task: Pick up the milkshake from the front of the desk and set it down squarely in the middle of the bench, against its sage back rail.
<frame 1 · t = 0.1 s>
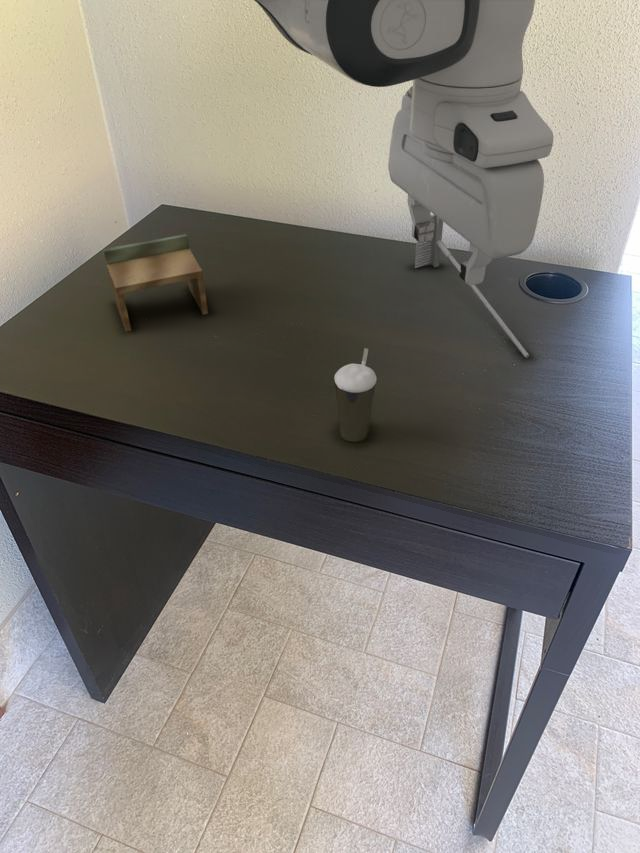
hand: (445, 259, 67), 21 cm above the table, tool pointing down, fingers open, 8 cm apart
milkshake: (355, 432, 80), on the table
bench: (161, 309, 101), on the table
brush: (468, 306, 101), on the table
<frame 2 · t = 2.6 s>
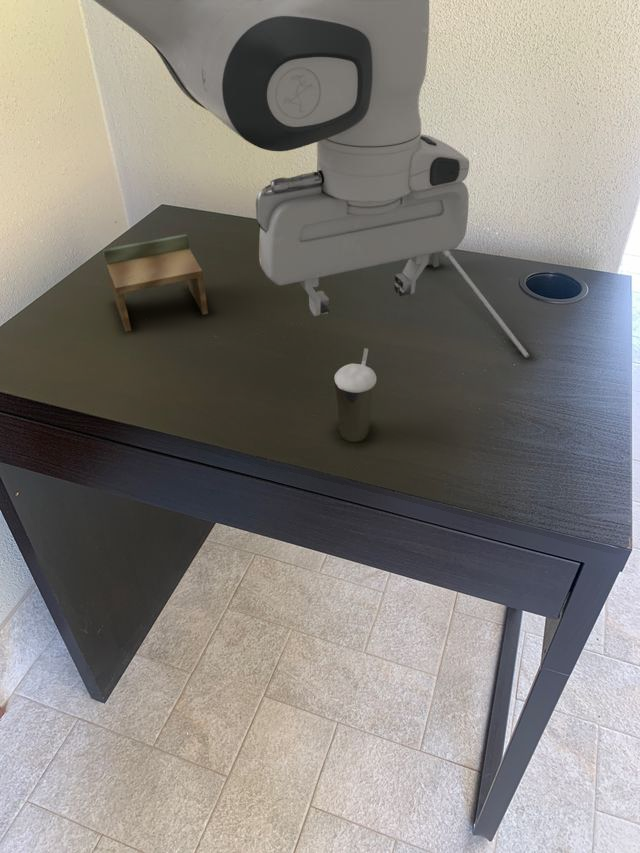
hand: (362, 302, 69), 17 cm above the table, tool pointing down, fingers open, 8 cm apart
nothing on the table moved.
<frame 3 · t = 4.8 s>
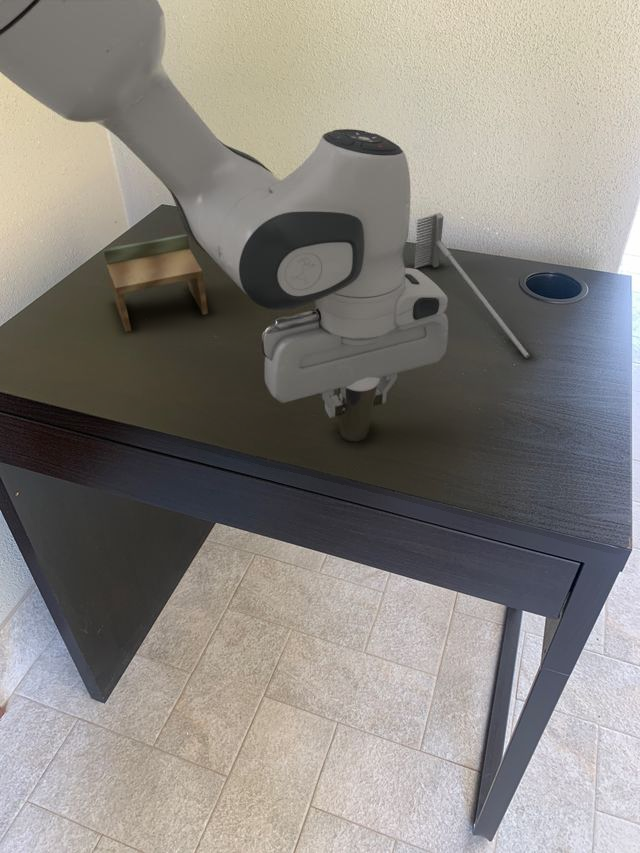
hand: (355, 407, 77), 4 cm above the table, tool pointing down, fingers closed on milkshake, 4 cm apart
milkshake: (355, 432, 80), on the table, touching gripper
everything else where it was.
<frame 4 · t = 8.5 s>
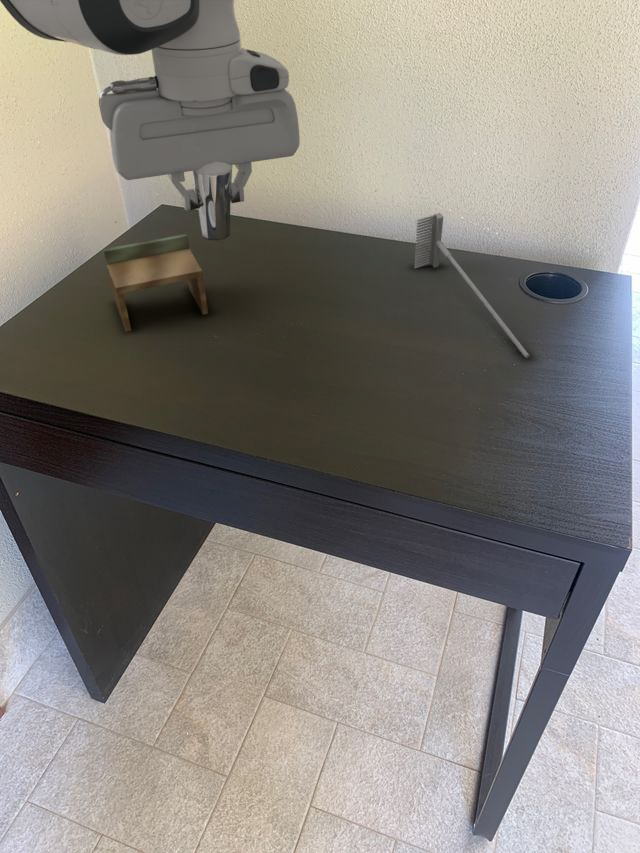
hand: (214, 204, 78), 21 cm above the table, tool pointing down, fingers closed on milkshake, 4 cm apart
milkshake: (217, 235, 81), point 17 cm above the table, touching gripper
everything else where it was.
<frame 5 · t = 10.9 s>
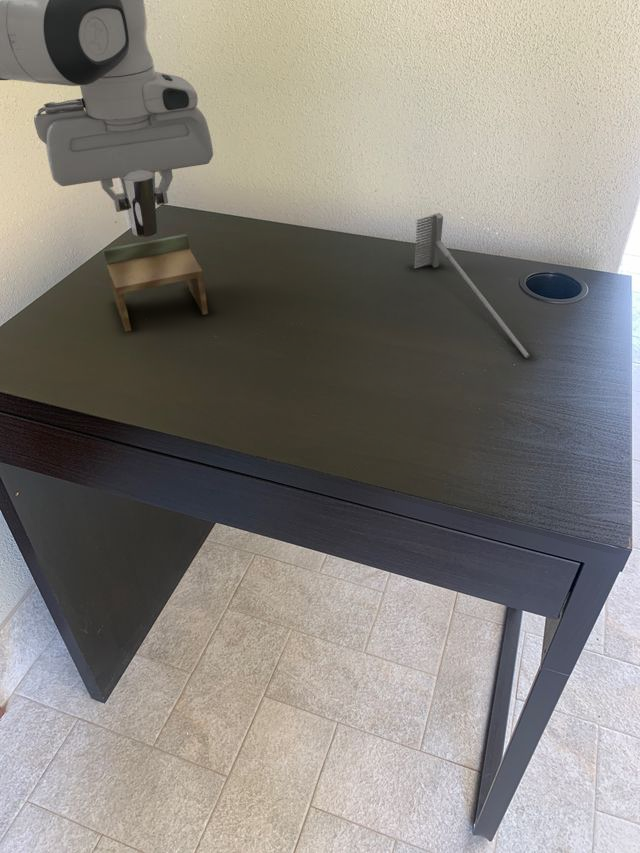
hand: (141, 206, 90), 16 cm above the table, tool pointing down, fingers closed on milkshake, 4 cm apart
milkshake: (147, 232, 93), point 12 cm above the table, touching gripper
everything else where it was.
when the fingers open (11 cm above the table, at t = 12.5 s): milkshake stays where it is, resting on bench.
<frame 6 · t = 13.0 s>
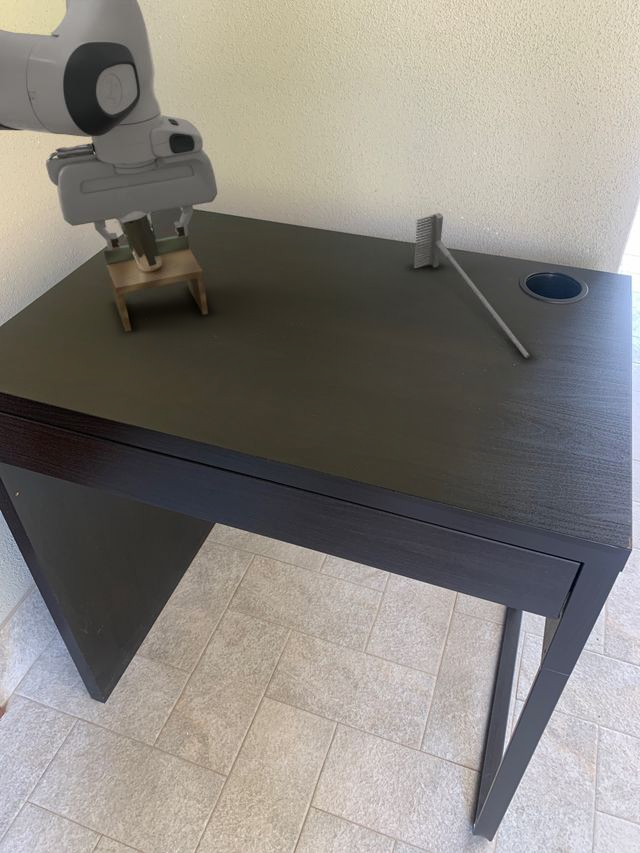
hand: (148, 242, 94), 11 cm above the table, tool pointing down, fingers open, 8 cm apart
milkshake: (153, 265, 96), point 7 cm above the table, touching bench
everything else where it was.
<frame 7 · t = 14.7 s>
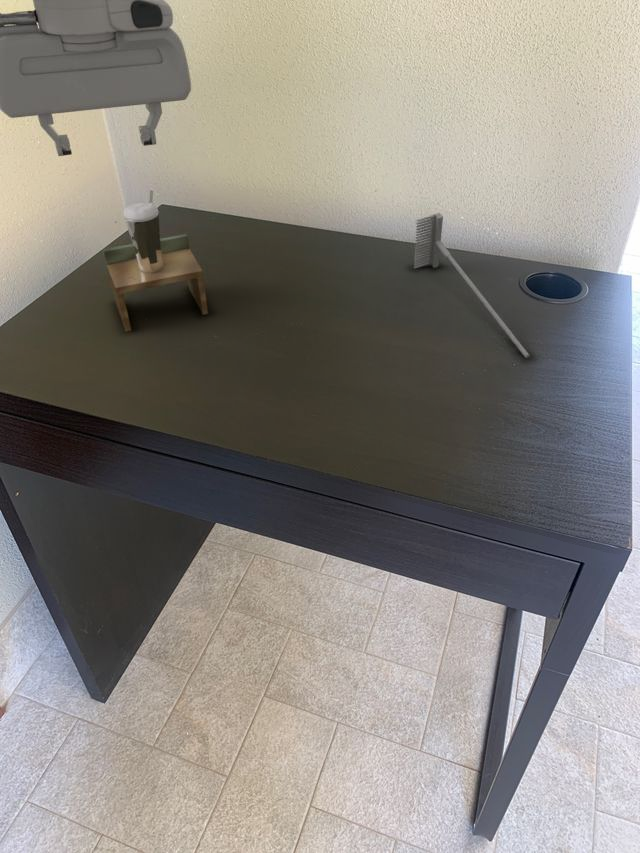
hand: (107, 148, 78), 26 cm above the table, tool pointing down, fingers open, 8 cm apart
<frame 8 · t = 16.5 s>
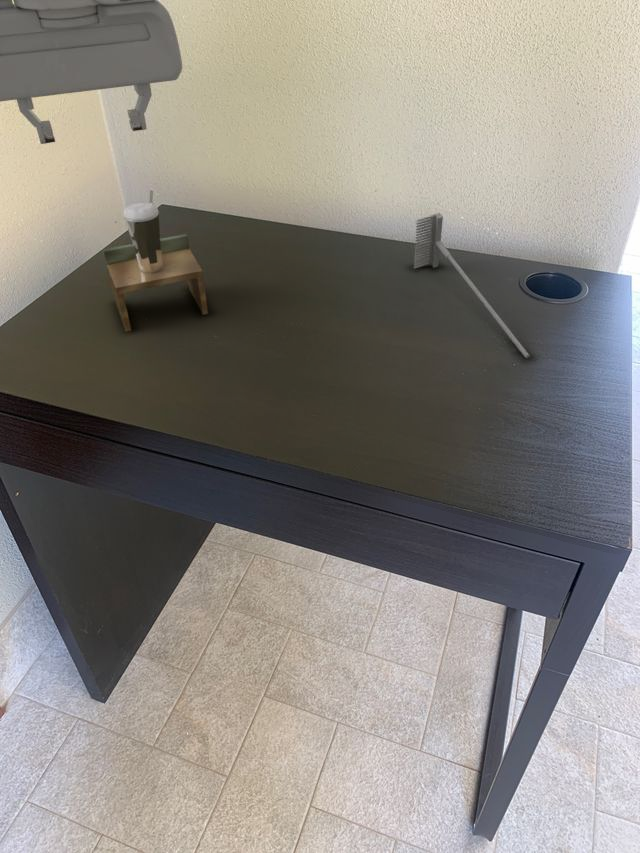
hand: (94, 135, 72), 29 cm above the table, tool pointing down, fingers open, 8 cm apart
nothing on the table moved.
at the end: milkshake 0.1 cm off-centre on the bench, point 6.8 cm above the bench's base; milkshake tilted 0°; the gripper is holding nothing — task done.
